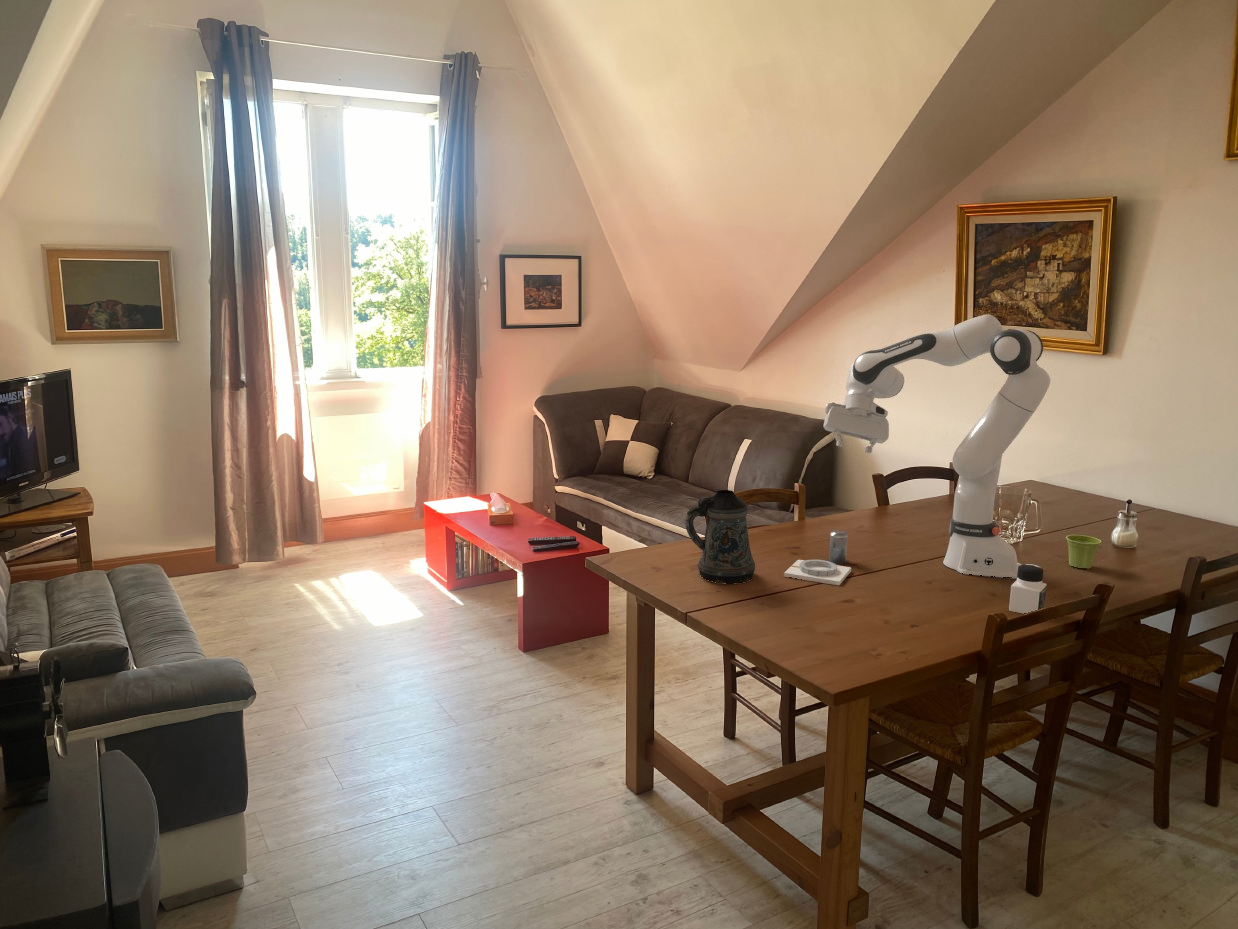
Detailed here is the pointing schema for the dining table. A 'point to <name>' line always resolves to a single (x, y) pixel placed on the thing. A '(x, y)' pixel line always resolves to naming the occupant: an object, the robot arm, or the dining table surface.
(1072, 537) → the plant pot
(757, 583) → the dining table surface
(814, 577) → the mounting plate
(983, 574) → the robot arm
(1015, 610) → the medicine bottle
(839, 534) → the coupling
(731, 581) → the beer stein
